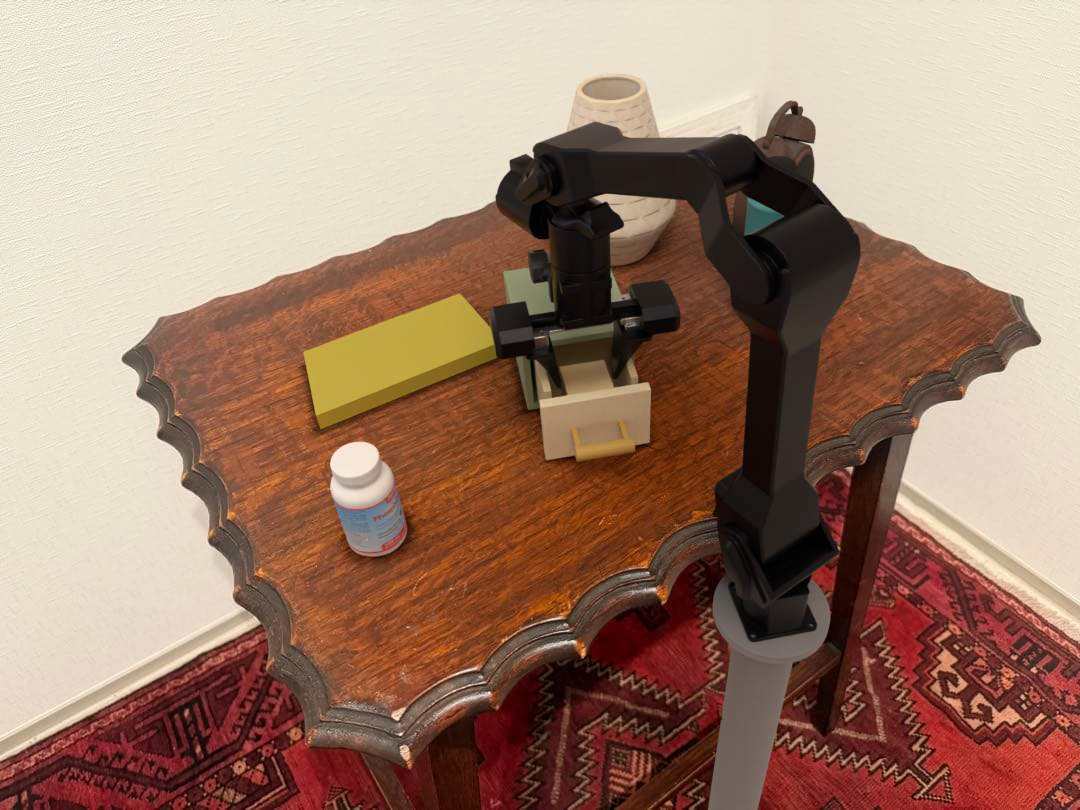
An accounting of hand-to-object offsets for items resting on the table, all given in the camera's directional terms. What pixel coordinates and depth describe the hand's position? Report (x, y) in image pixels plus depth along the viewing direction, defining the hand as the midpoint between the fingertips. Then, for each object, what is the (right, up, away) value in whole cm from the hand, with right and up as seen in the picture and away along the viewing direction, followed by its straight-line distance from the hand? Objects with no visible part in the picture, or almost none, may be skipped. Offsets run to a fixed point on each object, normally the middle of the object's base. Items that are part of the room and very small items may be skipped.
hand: (586, 381), depth 93 cm
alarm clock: (+27, +20, +28) cm, 44 cm away
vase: (+6, +20, +31) cm, 38 cm away
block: (0, -3, +3) cm, 5 cm away
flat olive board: (-23, +2, +15) cm, 27 cm away
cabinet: (-1, +3, +13) cm, 13 cm away
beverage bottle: (+23, +10, +18) cm, 31 cm away
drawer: (+1, -5, +3) cm, 6 cm away
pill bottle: (-21, -16, -5) cm, 27 cm away
